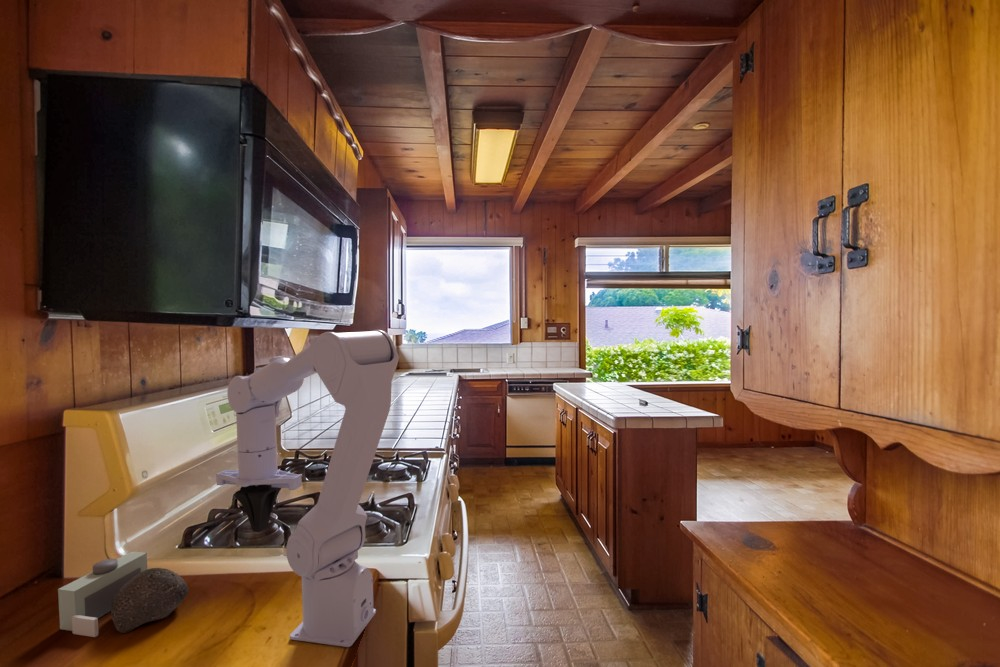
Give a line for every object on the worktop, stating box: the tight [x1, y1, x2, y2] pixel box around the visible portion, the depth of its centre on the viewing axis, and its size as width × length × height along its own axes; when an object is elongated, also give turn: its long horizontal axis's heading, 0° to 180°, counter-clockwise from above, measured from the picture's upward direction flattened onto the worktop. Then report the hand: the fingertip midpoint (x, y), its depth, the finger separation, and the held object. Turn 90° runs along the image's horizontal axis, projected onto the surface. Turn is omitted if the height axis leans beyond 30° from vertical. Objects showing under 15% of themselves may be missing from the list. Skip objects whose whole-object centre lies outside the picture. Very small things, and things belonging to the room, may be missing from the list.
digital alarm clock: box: [57, 551, 148, 638], centre depth 74 cm, size 7×12×7 cm, turn 168°
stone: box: [110, 567, 189, 634], centre depth 72 cm, size 10×8×10 cm
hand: (260, 529), depth 77 cm, fingers closed
